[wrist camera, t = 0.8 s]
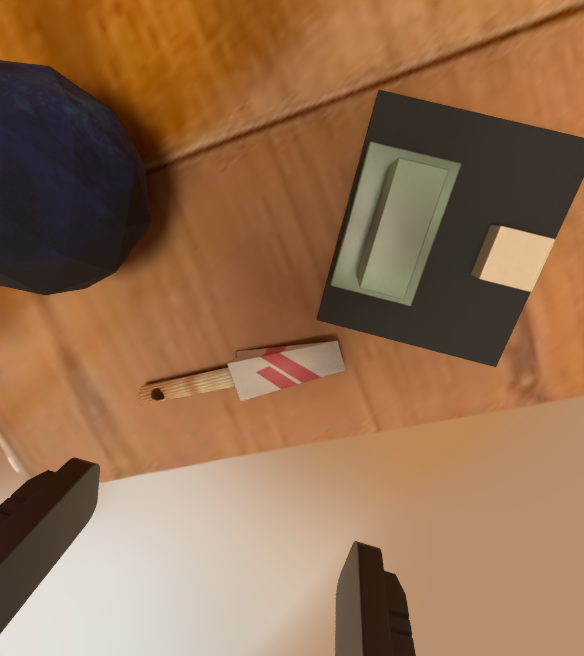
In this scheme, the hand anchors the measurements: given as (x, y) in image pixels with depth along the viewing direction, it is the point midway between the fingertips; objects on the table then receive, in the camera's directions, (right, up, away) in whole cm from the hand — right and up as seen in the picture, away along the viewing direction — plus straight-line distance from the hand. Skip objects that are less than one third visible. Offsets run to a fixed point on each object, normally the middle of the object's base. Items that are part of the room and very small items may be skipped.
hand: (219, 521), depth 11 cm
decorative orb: (-14, +18, +21) cm, 31 cm away
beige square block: (+19, +11, +18) cm, 28 cm away
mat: (+14, +13, +19) cm, 27 cm away
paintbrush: (-3, +2, +25) cm, 25 cm away
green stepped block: (+10, +14, +18) cm, 25 cm away
